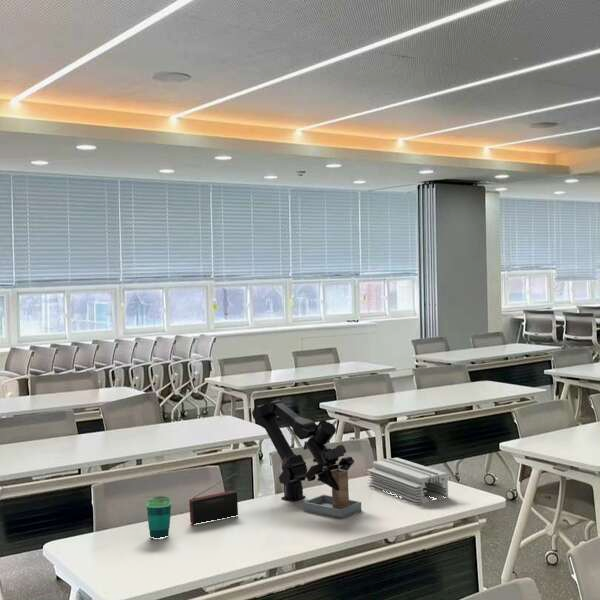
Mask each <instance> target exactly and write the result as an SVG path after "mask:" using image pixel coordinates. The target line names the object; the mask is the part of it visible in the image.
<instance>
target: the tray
mask: <svg viewBox="0 0 600 600" xmlns="http://www.w3.org/2000/svg"><path fill="white" fill-rule="evenodd" d="M302 505H303V506H302V511H304V512H308V513H312V512H313V513H314V514H317V515H322V516H327V517H331V518H336V519H340V520H342V519H345V518H347V517H350V516H352V515H354V513H355V514H357V513H359V512H361V511H362V502H361V501H359V500H353V499H349V506H348V507H345V508H343V509H336V508H333V502H332V495H328V494H323V493H322V495H318V496H315V497H313V498H310V499H307V500H305V501H303V502H302ZM313 513H312V514H313Z"/></svg>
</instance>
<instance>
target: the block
mask: <svg viewBox="0 0 600 600" xmlns="http://www.w3.org/2000/svg"><path fill="white" fill-rule="evenodd" d="M331 474H332V477H333V478H334V480H335V482H336V483H337V485H338V488H339V490H338V491H336V490H335V489H333V488H332V487H331V496H332V502H333V508H336V509H343V508H345V507H348V506H349V500H350V496H349V470H347V471H346V470H342V469H337V470H332V471H331Z"/></svg>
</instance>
